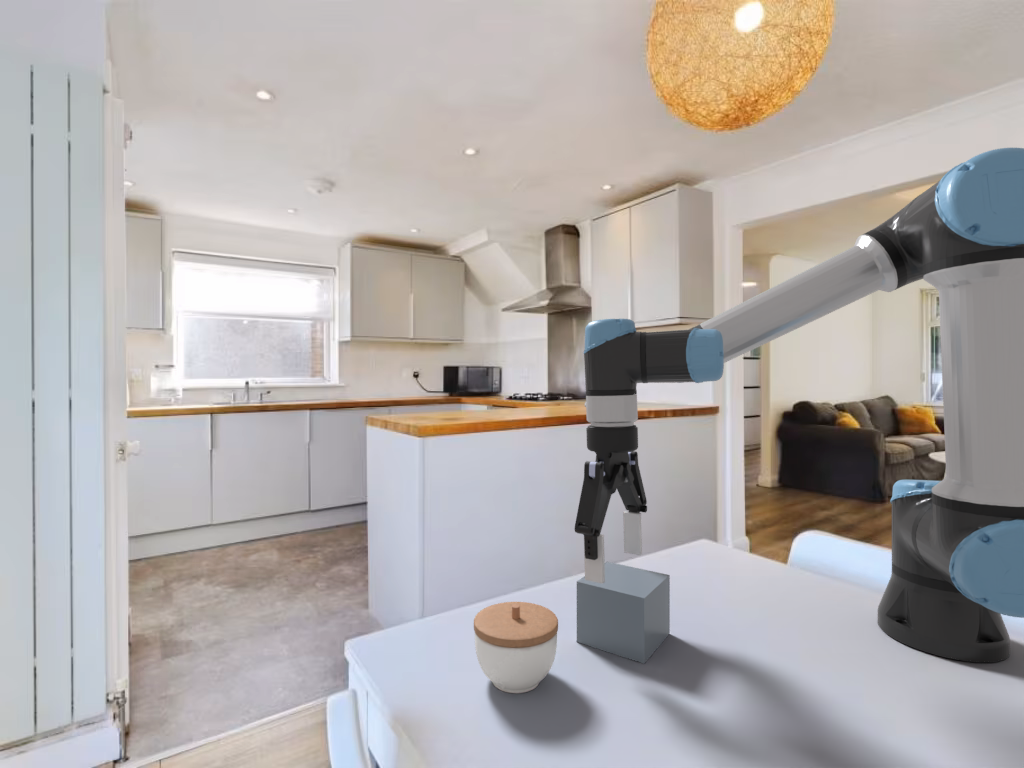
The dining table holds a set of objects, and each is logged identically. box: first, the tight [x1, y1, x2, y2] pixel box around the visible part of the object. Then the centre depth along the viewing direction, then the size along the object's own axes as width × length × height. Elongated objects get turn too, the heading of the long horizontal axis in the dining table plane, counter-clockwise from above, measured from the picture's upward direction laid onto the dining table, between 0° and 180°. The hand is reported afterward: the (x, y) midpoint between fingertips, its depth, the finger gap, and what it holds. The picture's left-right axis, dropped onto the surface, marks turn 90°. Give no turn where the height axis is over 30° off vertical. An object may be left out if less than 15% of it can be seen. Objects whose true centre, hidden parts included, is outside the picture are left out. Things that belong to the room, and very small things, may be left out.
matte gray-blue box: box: [576, 561, 671, 664], centre depth 78 cm, size 10×10×9 cm
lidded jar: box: [473, 601, 559, 694], centre depth 67 cm, size 11×11×9 cm
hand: (615, 566), depth 79 cm, fingers open, 13 cm apart
